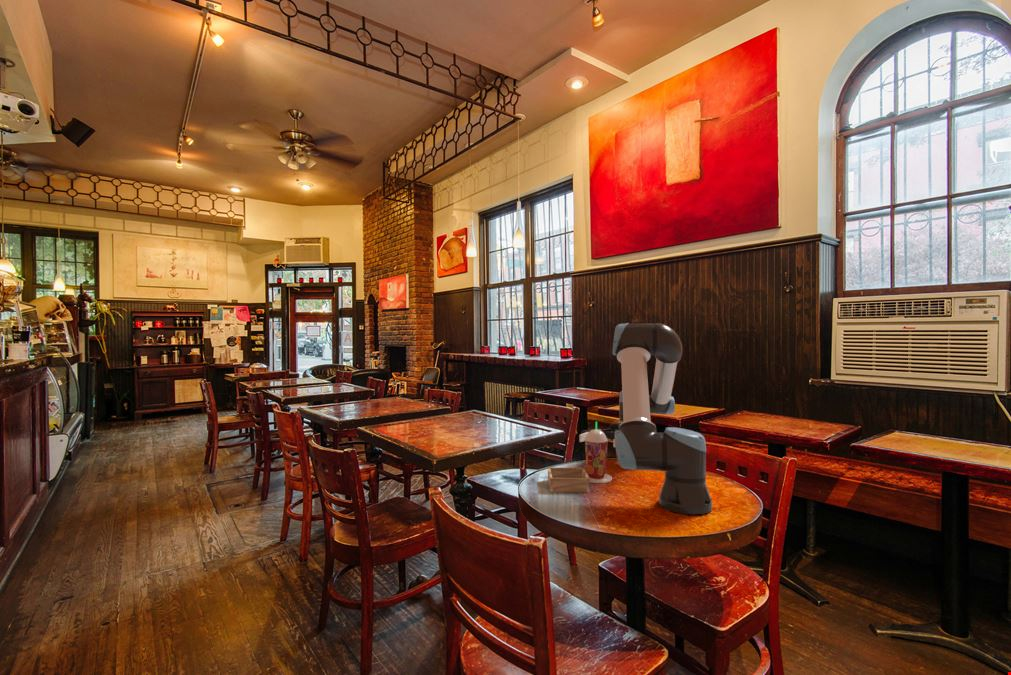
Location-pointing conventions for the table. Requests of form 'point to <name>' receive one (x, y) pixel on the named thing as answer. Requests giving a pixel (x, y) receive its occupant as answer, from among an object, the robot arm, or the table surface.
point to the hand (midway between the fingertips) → (596, 440)
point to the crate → (568, 480)
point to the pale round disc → (605, 479)
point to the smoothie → (596, 453)
